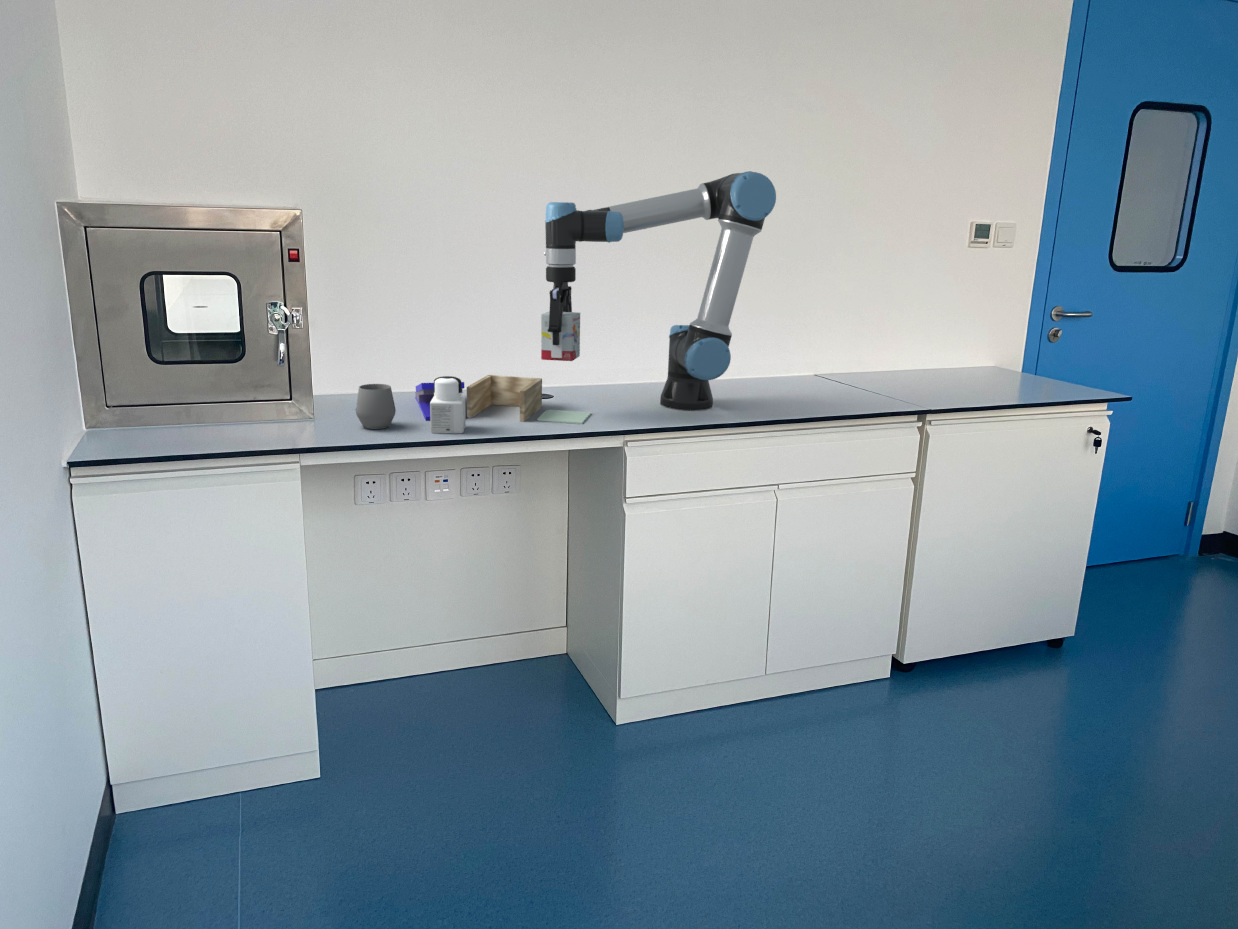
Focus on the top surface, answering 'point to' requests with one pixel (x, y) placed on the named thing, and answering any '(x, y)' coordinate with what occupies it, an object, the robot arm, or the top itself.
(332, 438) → the top surface
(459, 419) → the container
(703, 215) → the robot arm
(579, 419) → the mat
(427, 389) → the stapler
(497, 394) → the u-shaped enclosure
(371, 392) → the cup
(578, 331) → the ink box
